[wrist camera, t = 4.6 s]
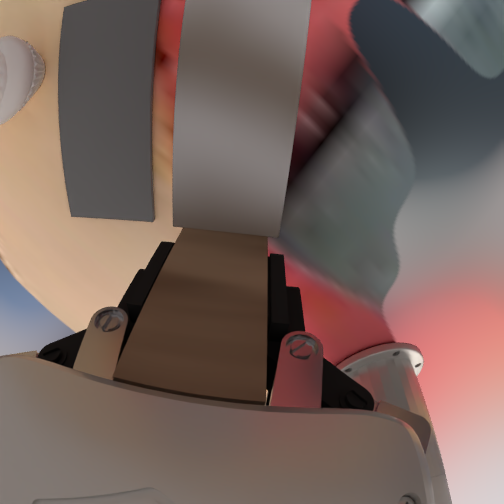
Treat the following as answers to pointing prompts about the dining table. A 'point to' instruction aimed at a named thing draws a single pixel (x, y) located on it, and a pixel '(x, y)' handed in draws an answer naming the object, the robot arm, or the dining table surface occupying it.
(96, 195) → the mat
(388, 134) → the dining table surface
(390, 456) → the robot arm
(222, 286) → the turner
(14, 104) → the muffin
